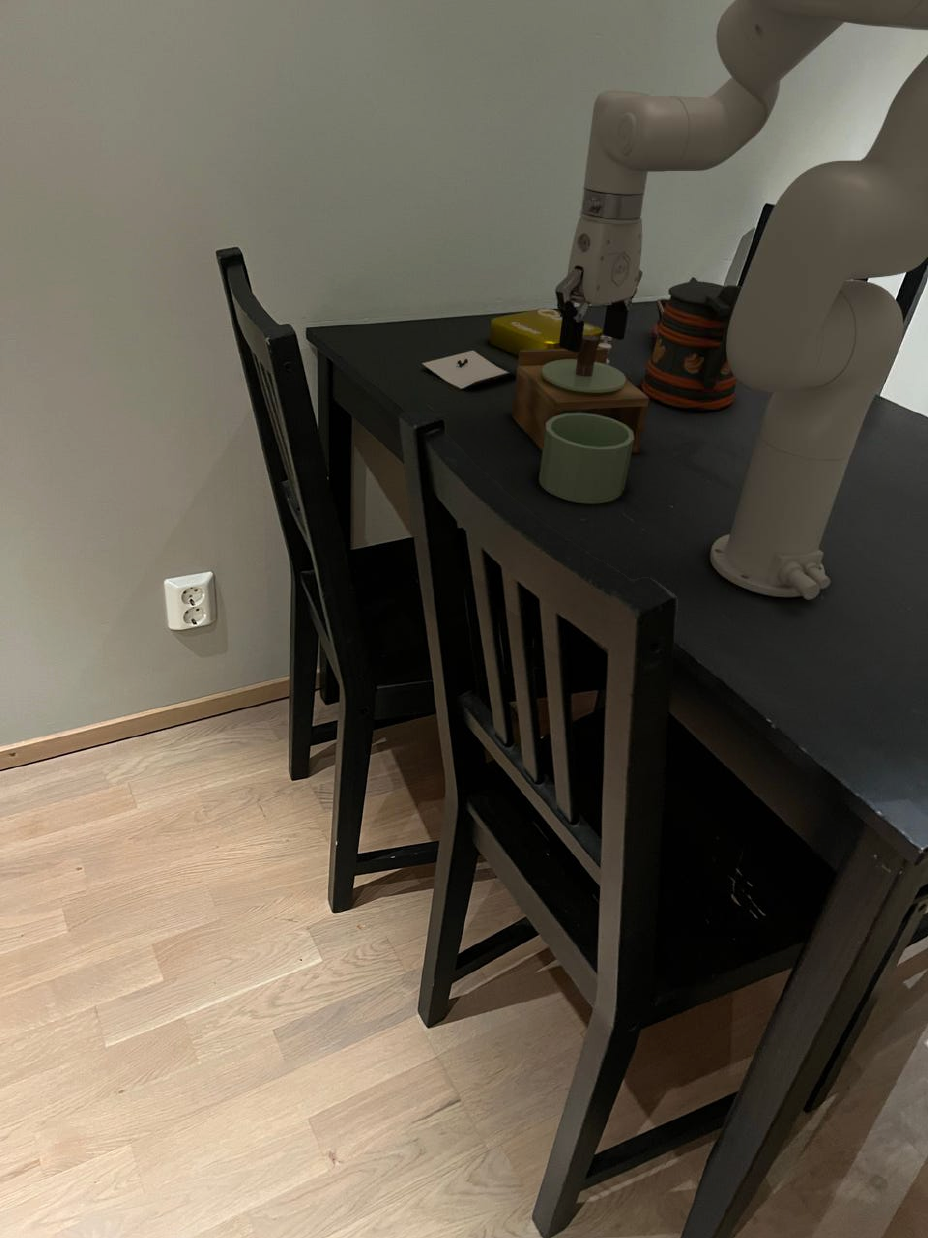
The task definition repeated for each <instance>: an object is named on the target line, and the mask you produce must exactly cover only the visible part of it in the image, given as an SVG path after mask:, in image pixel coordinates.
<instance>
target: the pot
mask: <svg viewBox="0 0 928 1238" xmlns="http://www.w3.org/2000/svg"><path fill="white" fill-rule="evenodd" d="M633 443H634V434H633V431H632V430H631V429H630V428H629V427H628V426H626V425H625V424H623V423H621V422H619V421H617V420H615V419H612V418H608V417H605V416H601V415H597V414H590V413H587V412H566V413H562V414H561V415H557V416H554V417H552V418H551V419H550V420H548V421H547V422H546V426H545V434H544V441H543V448H542V450H541V455H540V463H539V471H538V482H539V485H540V487H542V489H544V490H545V491H546V492H547V493H549V494H550V495H552V496H554V497H556V498H559V499H562V500H564V501H568V502H574V503H578V504H591V505H592V504H593V505H594V504H603V503H609V502H612V501H615V500H617V499H618V498H620V497H621V496H622V494H623V493H624V491H625V488H626V483H627V478H628V474H629V468H630V463H631V457H632V454H633V453H632V448H633Z"/></svg>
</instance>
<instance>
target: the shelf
mask: <svg viewBox="0 0 928 1238" xmlns="http://www.w3.org/2000/svg"><path fill="white" fill-rule="evenodd" d="M608 356H609V353H608V349H607V348H597V351H596V357H595V362H599V363H602V364H606V365H609V363H608V364H607V363H606V361H607V359H608ZM577 358H578V352H577V353H575V352H572V351H569V350H566V349H543V350H520V351H519V357H518V359H517V369H516V370H517V372H516V378H515V379H516V380H515V388H514V396H513V406H512V413H511V418H512V419H513V420H514V421H515V422H516V424H517V425H519V427H520V428H521V429H522V430H523V431H524V432H525V433H526V434H527V436H529V438H530V439H531V440H532V441H533V442H534V443H535V445H536V446H537V447H538V448H539V449H540V450H541V451H542V448H543V441H544V434H545V426H546V422H547V421H548V420H550V419H551V418H552V417H554V416H557V415H561V414H563V411H583V410H589V414H597V415H601V416H605V417H608V418H612V419H615V420H617V421H619V422H621V423H623V424H625V425H626V426H628V427H629V428H630V429H631V430H632V431H633V434H634V443H633V448H632V453H631V454H634V453H639V451H640V446H641V441H642V437H643V432H644V426H645V423H646V422H645V421H646V416H647V412H648V407H649V402H650V396H648V395H646V394H645V393H643V391H642V390H640V389H639V388H638V387H637V386H636V385H634V384H633V383H632V382H630V381H629V380H628V379H627V378H626V382H625V385H624V386H623V387H622V388H620V389H618V390H615V391H611V392H603V393H590V392H579V391H574V390H569V389H566V388H562V387H559V386H557V385H554V384H552V383H550V382H549V381H547V380H546V379H545V378H544V377H543V375H542V368H543V366H544V365H545V364H547V363H549V362H552V361H556V360H563V359H577Z"/></svg>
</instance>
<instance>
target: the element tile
mask: <svg viewBox="0 0 928 1238" xmlns="http://www.w3.org/2000/svg"><path fill="white" fill-rule="evenodd" d="M583 322H584V329H583V335H593V336H596V337H598V345H599V344H600V343H602V339H601V336H603V329H602V328H601V327H599V326H596V325H593V324H591V323H588V322H585V321H583ZM490 324H491V325H490V335H489V344H490V345H491V346H493V347H494V348H496V349H498V350H501V351H504V352H506V353H509V354H511V355H513V356H515V357H518V358H519V351H520V350H543V349H563V348H560V347H559V340H560V332H561V324H562V317H560V311H557V310H554V309H551V308H547V307H544V308H538V309H533V310H527V311H523V312H518V313H512V314H509V315H503V316H498V317H495V318H492V319H491V323H490ZM598 345H597V348H599V347H598Z"/></svg>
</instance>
